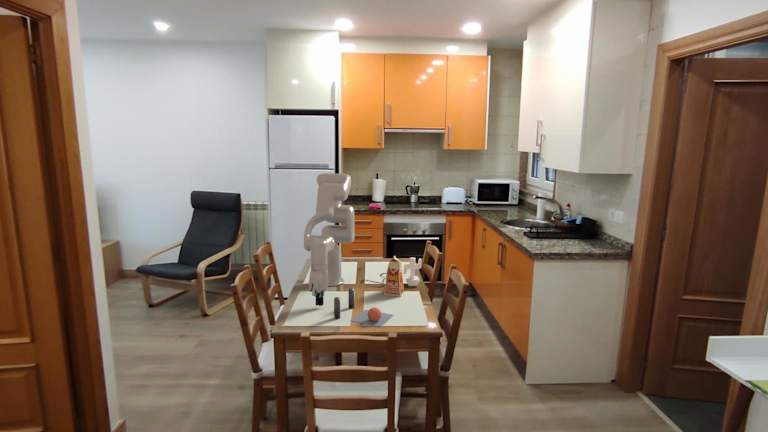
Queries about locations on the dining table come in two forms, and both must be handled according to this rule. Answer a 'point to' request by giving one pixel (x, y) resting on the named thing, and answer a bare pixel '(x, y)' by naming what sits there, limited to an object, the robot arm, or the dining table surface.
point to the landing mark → (365, 320)
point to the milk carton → (394, 278)
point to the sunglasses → (377, 282)
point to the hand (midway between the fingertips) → (319, 304)
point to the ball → (374, 314)
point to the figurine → (412, 272)
